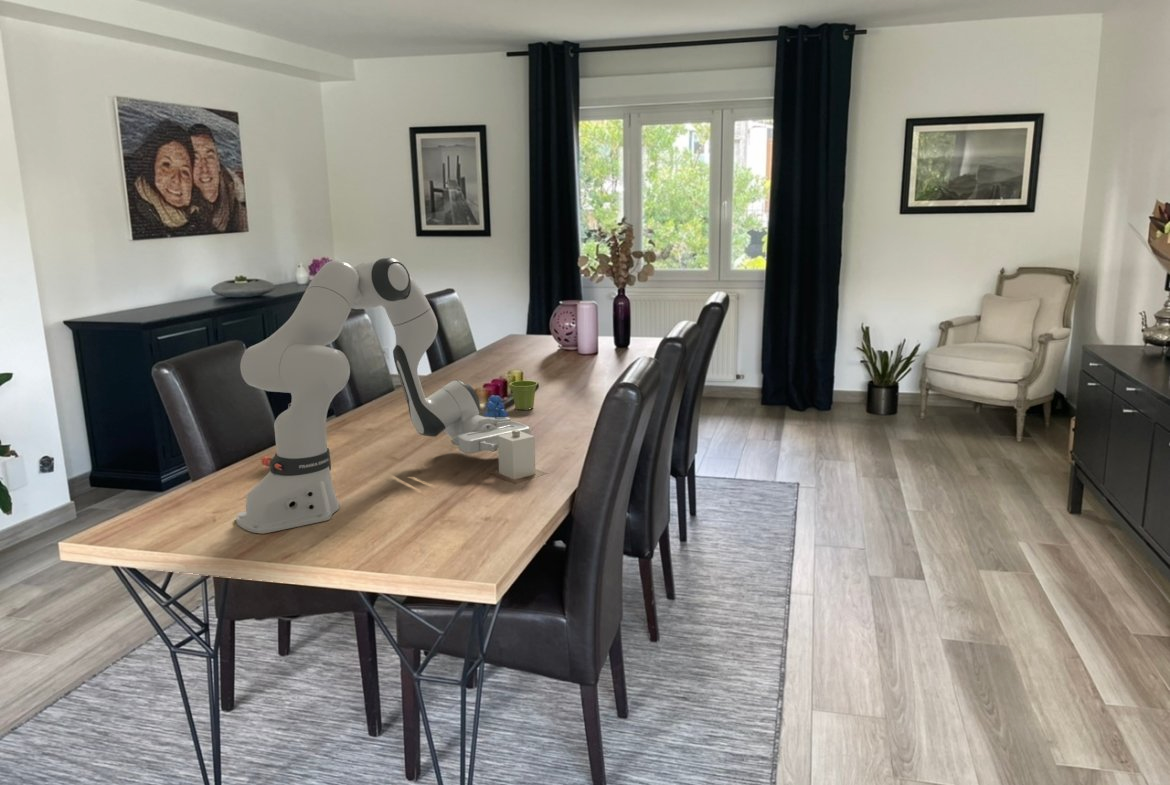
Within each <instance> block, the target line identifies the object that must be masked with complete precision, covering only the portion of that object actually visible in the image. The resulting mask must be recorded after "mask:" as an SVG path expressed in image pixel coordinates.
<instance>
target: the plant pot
mask: <svg viewBox="0 0 1170 785" xmlns="http://www.w3.org/2000/svg"><path fill="white" fill-rule="evenodd" d="M537 385H538V382H537V381H535V380H516V381H511V382H510V383H509V386H510V388H511V391H512V396H513V397H512V398H513V402H514V408H515V409H516V410H517V409H519V410H522V409H529V408H532V407H533V408H534V403H535V396H536V395H535V394H536V389H537ZM533 408H532V409H533Z"/></svg>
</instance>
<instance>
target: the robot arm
mask: <svg viewBox="0 0 1170 785" xmlns="http://www.w3.org/2000/svg"><path fill="white" fill-rule="evenodd" d="M380 306H382V307H383V308H384V309H385V312H386V315H387V317H388V319H389V321H390V323H391V325H392V328H393V330H394V334H395V346H394V348H393V350H392V354H393V355H392V356H393V361H394V364H395V368H396V372H397V374H398V377H399V381H400V384H401V387H402V390H403V394H404V395H405V399H406V403H407V407H408V411H409V412H408V413H409V417H410V421H411V423H412V425H413V427H414V429H415V430H416V431H417V433H418V434H420V435H421V436H425V437H437V436H438V435H440V434H441V433H443V431H444V433H445V434H446V435H447V436H449V437H450V438H451V440H450V442H451V444H453V445H455V446H457V449H458V450H459V451H461V452H462V453H464V454H469V455H470V454H471V455H472V454H477V453H480V452H484V451H485V452H486V451H487V452H488V451H489V452H491V453H492V452H498V435H503V434H507V433H512V431H514V430H518V431H521V432H524V433H527V434H530V435H531V434H532V432H531V427H530V426H529V425H526V424H524V423H522V422H519V421H516V420H512V419H511V417H508V416H507V417H497V418H492V417H485V416H483V415H480V411H481V406H480V400H479V399H480V398H479V397H478V394H477V393H476V391H475V389H474V388H473V387H472V386H471V385H470V384H468V383H466V382H464V381H462V380H458V379H454V380H452V381H450V382H448V383H447V384H445V385H444V386H442V387H441V388H439V389H438V390H436V391H435V392H433V393H432V394H430V395H428V396H427V397H426V396H425V392H424V389H423V386H422V382H421V380H420V377H419V374H418V367H419V364H420V361H421V360H422V357H423V356H424V354H425V353H426V351H427V350H428V349H429V348H430V347H431V346H432V344H433V342H434V341H435V339H436V337H437V334H438V330H439V329H438V328H439V326H438V325H439V324H438V319H437V317H436V315H435V312H434V310H433V309H432V306H431V305H430V302H429V301H428V298H427V297H426V295H425V294H424V292H423V291H422V289H421V287H420V286H419V285H418V284H417V282H416V280H414V279H413V277H411V276H410V273H409V271H408V269H407V268H406V266H405V265H404V264H403V263H402V262H401V261H400V260H398V259H397V258H393V257H392V258H391V257H385V258H380V259H377V260H372V261H368V262H363V263H359V264H357V265H354V266H352V265H351V264H349V263H348V262H345V261H342V260H330V261H327V262H326V263H325V264H323V265H322V266H321V267H320V269H319V270H318V271H317V272H316V273H315V275H314V277H313V278H312V279H311V281H310V282H309V284H308V286H307V287H306V289H305V291H304V293H303V295H302V297H301V300H299V303H298V304H297V306H296V308H295V310H294V312H293V313H292V315H291V316H290V317H289V319H288V320H287V321H285V323H283V325H282V326H280V327H279V328H278V329H277V330H276V331H275V332H273V333H272V334H271V335H270V336H269V337H267V338H266V339H264V340H262V341H260V342H258V343H256V344H254V345H251V346H249V347H248V348H247V349H246V350H245V351H244V352H243V354H242V356H241V359H240V363H239V365H240V366H239V368H240V374H241V377H242V379H243V380H244V382H245V383H246V384H247V385H248V386H250V387H254V388H256V389H258V390H262V391H265V392H274V393H289V394H290V395H291V402H290V403H291V406H290V408H289V409H288V408H287V409H286V410H284V411H282V412H281V413H279V414H278V416H277V417H276V419H275V421H274V424H273V428H274V437H275V439H274V440H275V449H276V453H275V454H274V456H273V458H272V457H269V456H266V455H265V456H262V457H261V458H262V459H260V462H261V464H262V465H263V466H266V467H269V470H270V471H269V472H268V473H266V475H265V476H264V477H263V478H262V479H260V480H259V482H258V483H257V484H256V485H255V486H254V487H253V488H251V489H250V490H249V491H248V492H247V496H246V501H245V502H246V503H245V511H241V512H239V513H237V514H236V517H235V520H236V521H235V522H236V524H237V525H238V526H239V527H240V528H242V529H243V530H245V531H248V532H251V533H254V534H261V535H262V534H268V533H273V532H279V531H283V530H287V529H293V528H297V527H302V526H306V525H311V524H315V523H321V522H327V521H328V520H330V519H332V517H333V514H334V513H336V512H337V511H338V510H339V508H340V503H339V501H338V499H337V496H336V493H335V488H334V485H333V480H332V475H331V471H332V464H331V463H332V460H331V452H330V448H328V440H327V438H328V437H327V418H328V417H327V416H328V410H329V408H330V405H331V403H332V401H333V399H334V398H335V397H336V395H338V393H339V392H341V391H342V390H344V388H345V386H346V385H347V384H348V381H349V380H350V376H351V367H350V366H351V365H350V362H349V360H348V357H347V355H345V353H344V352H343V351H341V350H340V349H336V348H333V347H329V346H328V345H330V344H332V343H333V342H335V341H336V340H337V339H338V337H339V336H340V335H341V332H342V330H343V328H344V325H345V324H346V321H347V320H348V317H349V315H350V312H357V311H361V310H364V309H370V308H378V307H380Z"/></svg>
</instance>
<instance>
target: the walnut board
mask: <svg viewBox="0 0 1170 785" xmlns="http://www.w3.org/2000/svg"><path fill="white" fill-rule="evenodd" d="M535 472H536V474H534V475H530V476H526V477H522V478H518V479H511V478H509V477H507V476H505V475H502V474H500V473H499V469H498V470H495V471H491V472H488V473H487V475H489V476H492V477H496V478H498V479H500V480H503V481H506V482H508V483H511V484H518V483H523V482H524V481H529V480H532V479H535V478H537V477H541V476H544V475H547V474H549V473H548V472H545V471H543V470H542V471H541V470H539V469H537V468H535Z"/></svg>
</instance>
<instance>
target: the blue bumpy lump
mask: <svg viewBox="0 0 1170 785" xmlns="http://www.w3.org/2000/svg"><path fill="white" fill-rule="evenodd" d="M487 401H488V402H486V404H485V405H484V407H485V409H486V410H487V411H486V412H485V413H484V416H483V417H492V418H497V417H508V416H509V413H508V412H507V410H505V408H506V406H505V405H504V404H503V399H502V398H501V397H500V396H499V395H492V394H491V395H490V396H489V397H488V399H487Z"/></svg>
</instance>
